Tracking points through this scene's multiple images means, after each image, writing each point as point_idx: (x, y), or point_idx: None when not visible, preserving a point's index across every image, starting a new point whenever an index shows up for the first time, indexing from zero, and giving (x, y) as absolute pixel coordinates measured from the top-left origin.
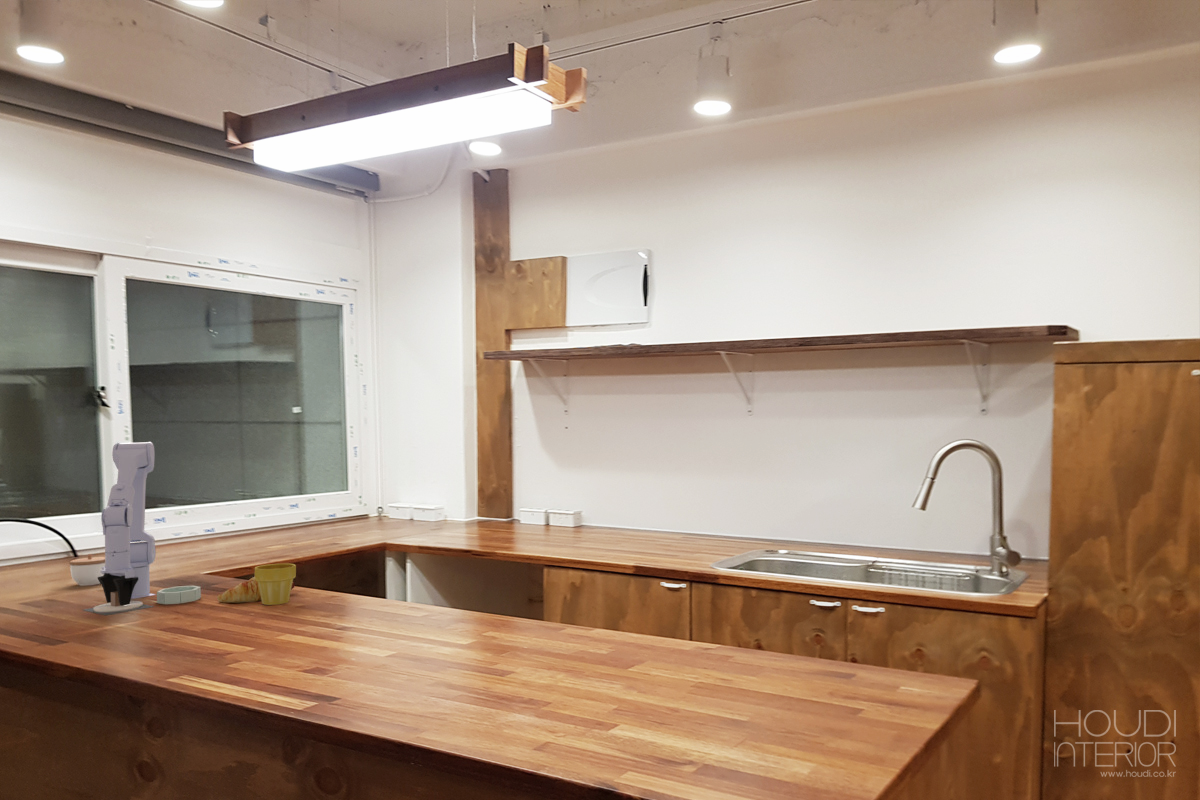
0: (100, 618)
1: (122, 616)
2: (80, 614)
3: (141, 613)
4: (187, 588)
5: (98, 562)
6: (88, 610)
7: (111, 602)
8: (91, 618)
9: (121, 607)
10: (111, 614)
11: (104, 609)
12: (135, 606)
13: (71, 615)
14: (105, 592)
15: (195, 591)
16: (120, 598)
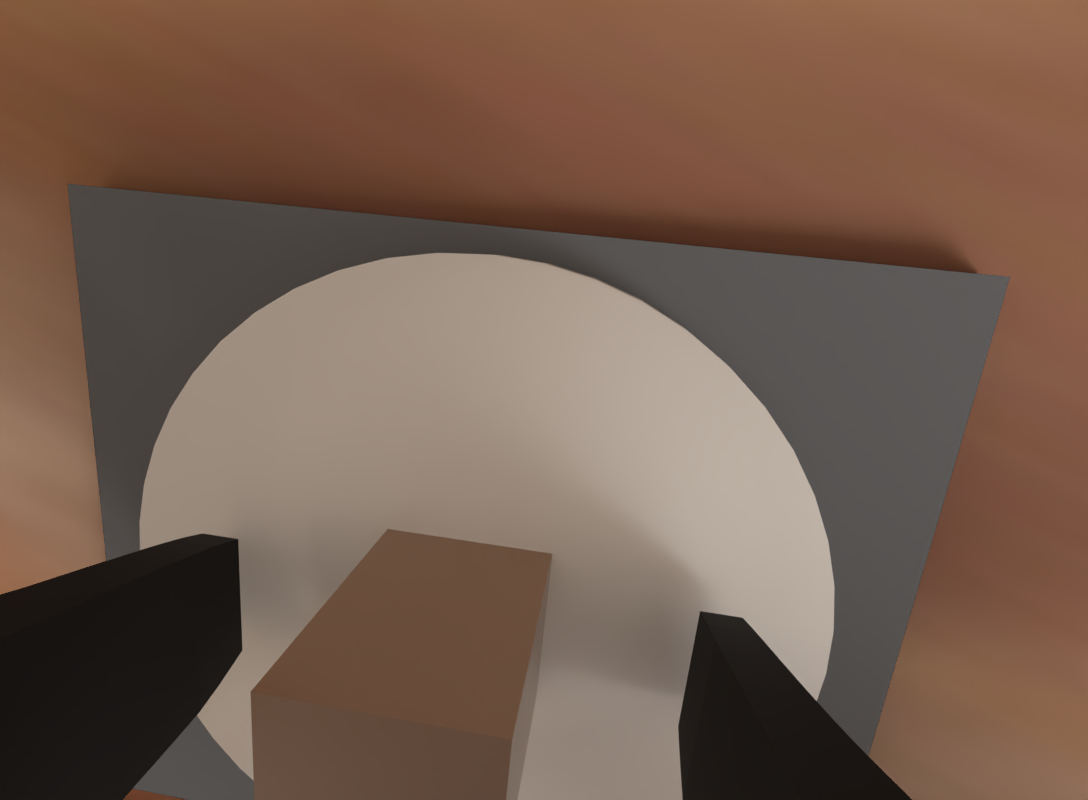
0: (125, 124)
1: (7, 350)
2: (798, 146)
3: (5, 554)
4: None
5: None
6: (791, 287)
7: (513, 577)
8: (250, 51)
9: (211, 516)
10: (82, 273)
11: (295, 309)
12: None
13: (890, 9)
14: (785, 742)
15: None
16: (68, 579)
